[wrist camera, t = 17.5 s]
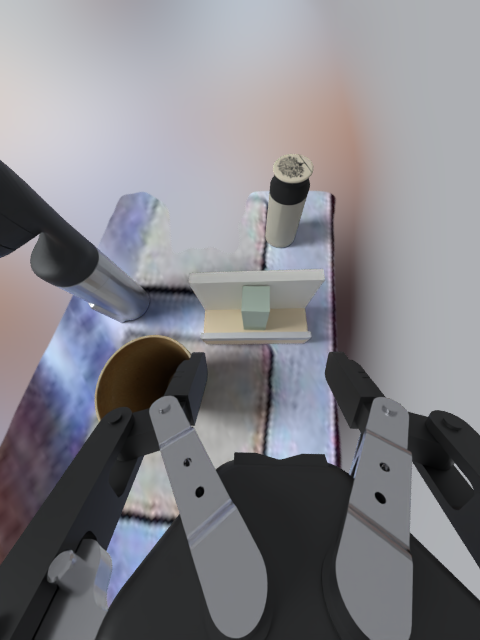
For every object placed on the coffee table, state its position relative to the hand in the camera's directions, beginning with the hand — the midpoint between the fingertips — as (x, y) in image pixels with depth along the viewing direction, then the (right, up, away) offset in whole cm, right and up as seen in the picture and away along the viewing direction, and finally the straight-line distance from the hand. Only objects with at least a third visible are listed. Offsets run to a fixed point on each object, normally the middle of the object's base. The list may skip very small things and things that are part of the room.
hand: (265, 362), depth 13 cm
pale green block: (+2, +3, +29) cm, 29 cm away
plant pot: (-14, -12, +30) cm, 35 cm away
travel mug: (+9, +26, +41) cm, 49 cm away
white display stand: (+2, +2, +33) cm, 33 cm away
